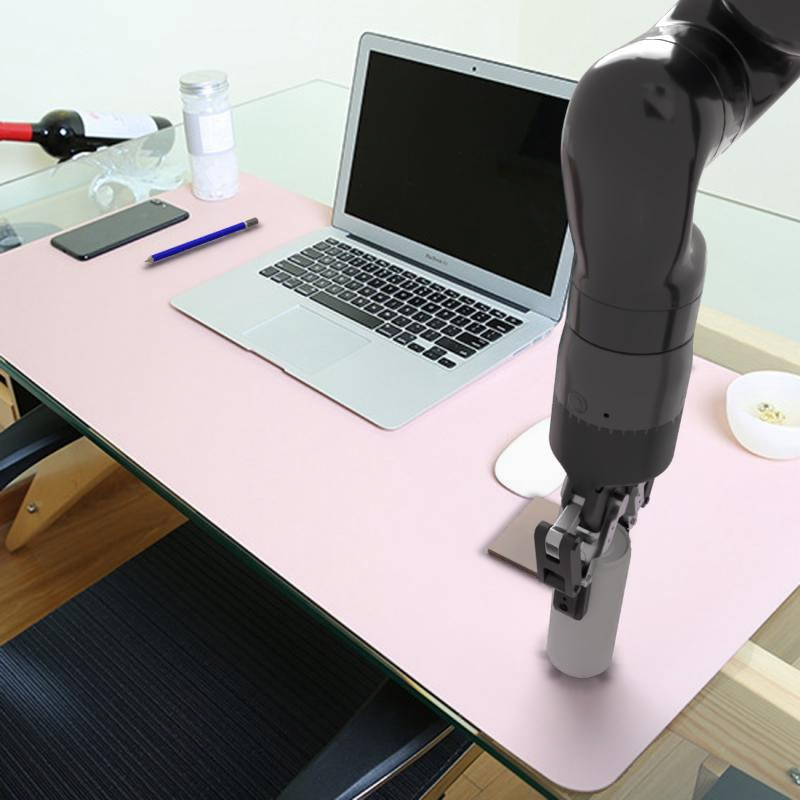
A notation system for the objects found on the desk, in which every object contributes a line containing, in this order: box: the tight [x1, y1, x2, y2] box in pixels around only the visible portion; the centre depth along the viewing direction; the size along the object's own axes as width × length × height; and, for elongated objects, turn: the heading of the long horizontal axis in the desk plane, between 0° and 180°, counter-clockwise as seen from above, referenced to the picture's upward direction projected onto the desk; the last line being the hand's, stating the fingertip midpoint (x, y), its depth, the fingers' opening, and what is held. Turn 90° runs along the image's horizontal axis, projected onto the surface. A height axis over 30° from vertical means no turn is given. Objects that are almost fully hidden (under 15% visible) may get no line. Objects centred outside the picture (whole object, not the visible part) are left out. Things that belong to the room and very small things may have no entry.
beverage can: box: [545, 523, 632, 679], centre depth 66 cm, size 5×5×12 cm
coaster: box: [487, 495, 561, 578], centre depth 79 cm, size 8×8×1 cm
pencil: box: [144, 216, 259, 263], centre depth 123 cm, size 17×1×1 cm, turn 132°
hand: (588, 586), depth 66 cm, fingers closed on beverage can, 5 cm apart
